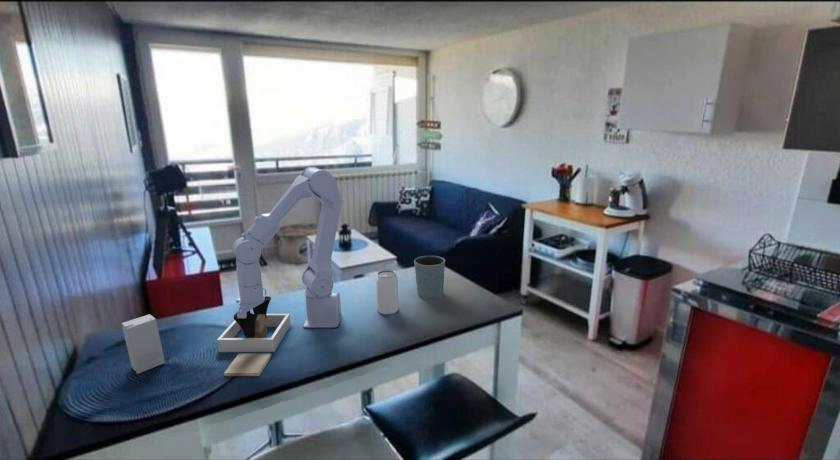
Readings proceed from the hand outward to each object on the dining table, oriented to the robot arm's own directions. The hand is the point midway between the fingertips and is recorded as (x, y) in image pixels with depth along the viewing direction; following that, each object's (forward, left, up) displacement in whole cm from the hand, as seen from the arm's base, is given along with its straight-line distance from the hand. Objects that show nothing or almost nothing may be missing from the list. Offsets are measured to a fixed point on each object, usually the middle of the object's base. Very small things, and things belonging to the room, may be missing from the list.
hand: (255, 330), depth 111 cm
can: (-34, -16, -2) cm, 38 cm away
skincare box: (+21, +13, -2) cm, 25 cm away
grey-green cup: (-47, -28, -2) cm, 55 cm away
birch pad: (-3, +13, -2) cm, 14 cm away
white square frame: (0, 0, -2) cm, 2 cm away
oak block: (0, 0, -2) cm, 2 cm away
